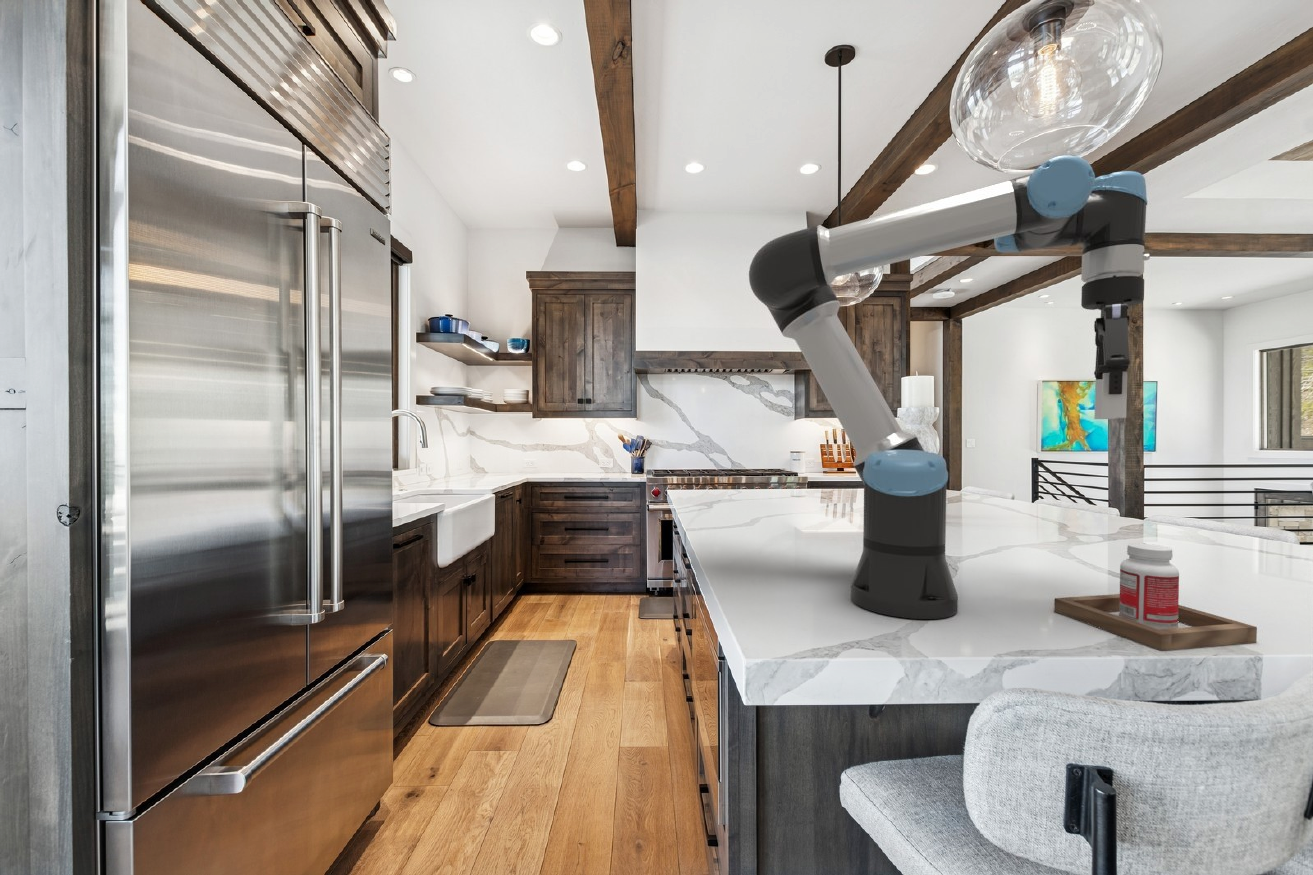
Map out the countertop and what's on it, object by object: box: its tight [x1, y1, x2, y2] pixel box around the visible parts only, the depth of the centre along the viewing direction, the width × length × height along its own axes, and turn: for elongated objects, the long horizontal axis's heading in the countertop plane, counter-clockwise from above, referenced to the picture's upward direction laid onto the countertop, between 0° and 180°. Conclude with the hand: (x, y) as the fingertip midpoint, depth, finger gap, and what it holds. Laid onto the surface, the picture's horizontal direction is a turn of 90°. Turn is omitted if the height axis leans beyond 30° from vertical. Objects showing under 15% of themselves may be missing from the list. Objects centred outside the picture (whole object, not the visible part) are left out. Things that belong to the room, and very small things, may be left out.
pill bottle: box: [1118, 543, 1180, 630], centre depth 79 cm, size 6×6×11 cm
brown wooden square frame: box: [1053, 593, 1258, 651], centre depth 79 cm, size 15×15×2 cm
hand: (1109, 418), depth 88 cm, fingers open, 13 cm apart
